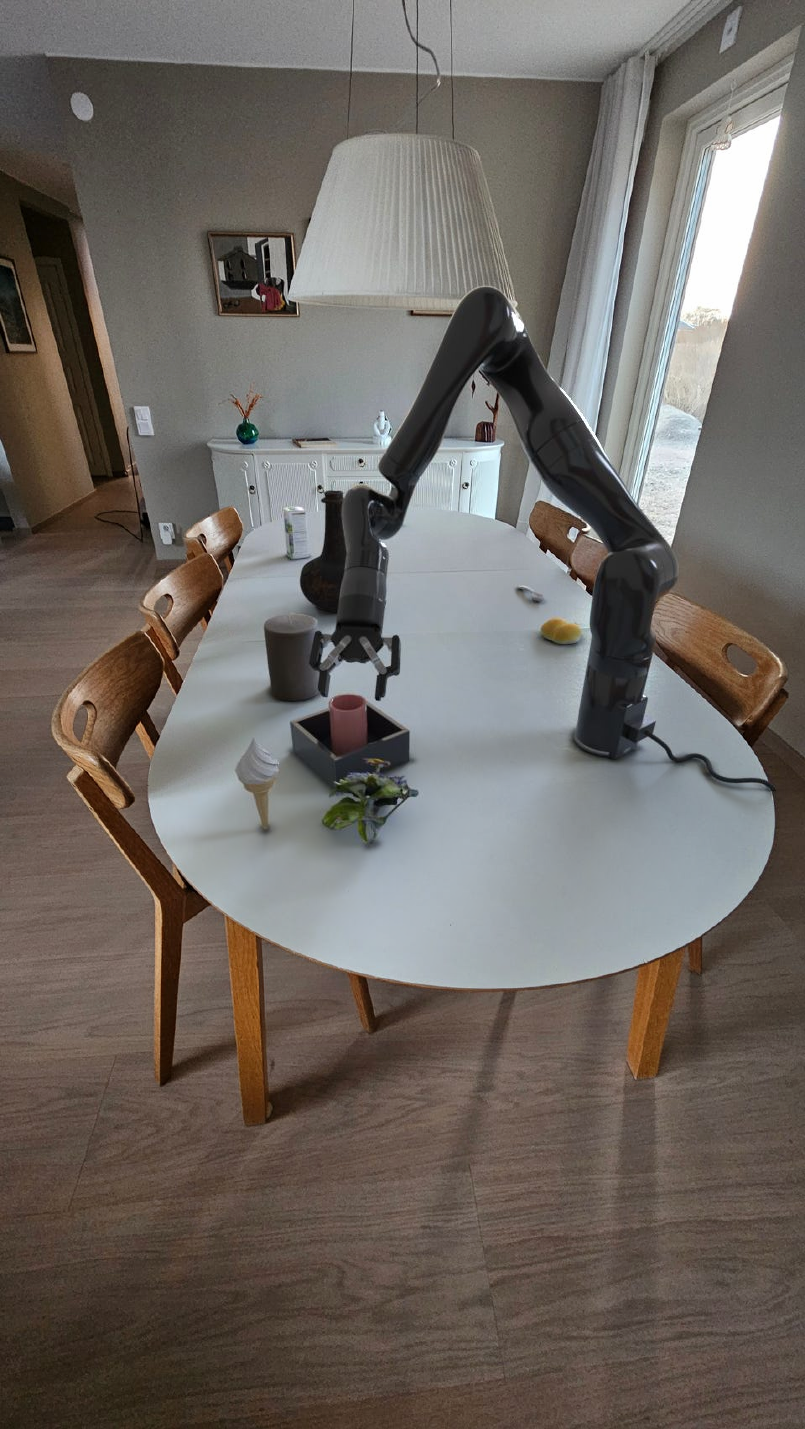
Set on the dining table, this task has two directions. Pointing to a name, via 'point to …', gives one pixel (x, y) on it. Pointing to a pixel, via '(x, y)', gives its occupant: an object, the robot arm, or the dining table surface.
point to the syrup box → (296, 532)
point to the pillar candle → (291, 656)
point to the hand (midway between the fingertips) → (350, 697)
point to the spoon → (534, 595)
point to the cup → (347, 723)
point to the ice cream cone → (258, 776)
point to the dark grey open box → (383, 744)
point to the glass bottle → (327, 559)
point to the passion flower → (366, 799)
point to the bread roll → (561, 631)
